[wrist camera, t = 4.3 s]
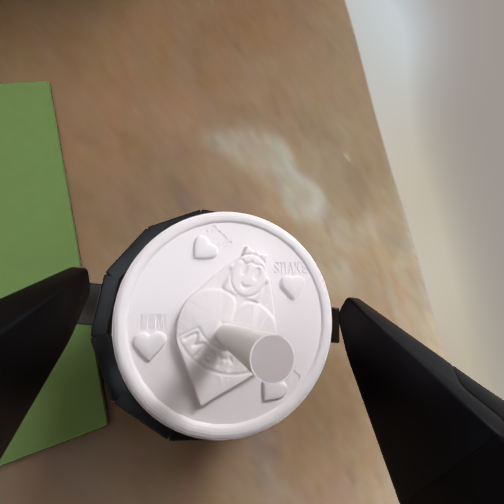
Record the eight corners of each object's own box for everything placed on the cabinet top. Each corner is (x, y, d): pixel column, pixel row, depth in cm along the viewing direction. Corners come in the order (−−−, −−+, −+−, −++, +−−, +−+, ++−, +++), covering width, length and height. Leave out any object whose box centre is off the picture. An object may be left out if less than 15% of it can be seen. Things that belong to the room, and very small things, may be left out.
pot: (303, 407, 16) (342, 439, 12) (75, 403, 14) (22, 442, 10) (307, 250, 19) (340, 232, 15) (117, 222, 16) (90, 190, 12)
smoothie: (138, 348, 15) (-260, 590, 2) (183, 250, 17) (152, 20, 4) (238, 383, 16) (480, 734, 3) (270, 286, 18) (505, 200, 4)
